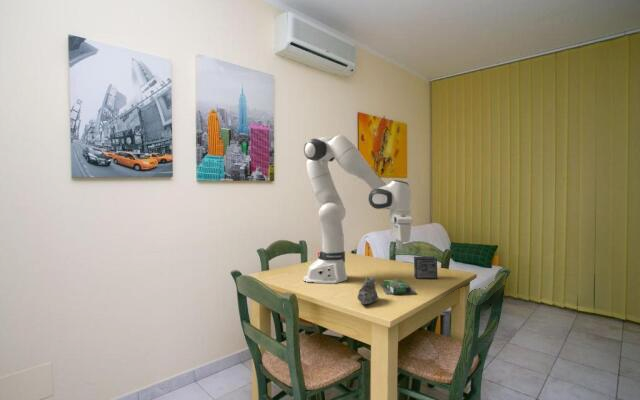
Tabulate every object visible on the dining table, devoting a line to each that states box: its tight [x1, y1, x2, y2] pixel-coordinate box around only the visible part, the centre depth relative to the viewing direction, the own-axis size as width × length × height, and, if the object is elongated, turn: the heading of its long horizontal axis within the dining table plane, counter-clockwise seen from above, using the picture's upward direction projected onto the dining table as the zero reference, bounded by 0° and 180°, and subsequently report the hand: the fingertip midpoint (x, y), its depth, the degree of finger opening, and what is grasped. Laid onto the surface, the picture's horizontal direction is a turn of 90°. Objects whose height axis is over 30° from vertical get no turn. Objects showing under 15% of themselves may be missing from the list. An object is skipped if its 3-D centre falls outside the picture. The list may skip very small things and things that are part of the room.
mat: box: [380, 283, 418, 295], centre depth 153 cm, size 13×14×1 cm
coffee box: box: [382, 279, 412, 295], centre depth 152 cm, size 8×3×13 cm
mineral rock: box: [357, 276, 379, 305], centre depth 137 cm, size 13×11×10 cm
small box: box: [413, 256, 438, 280], centre depth 174 cm, size 11×6×10 cm, turn 84°
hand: (399, 249), depth 149 cm, fingers closed
